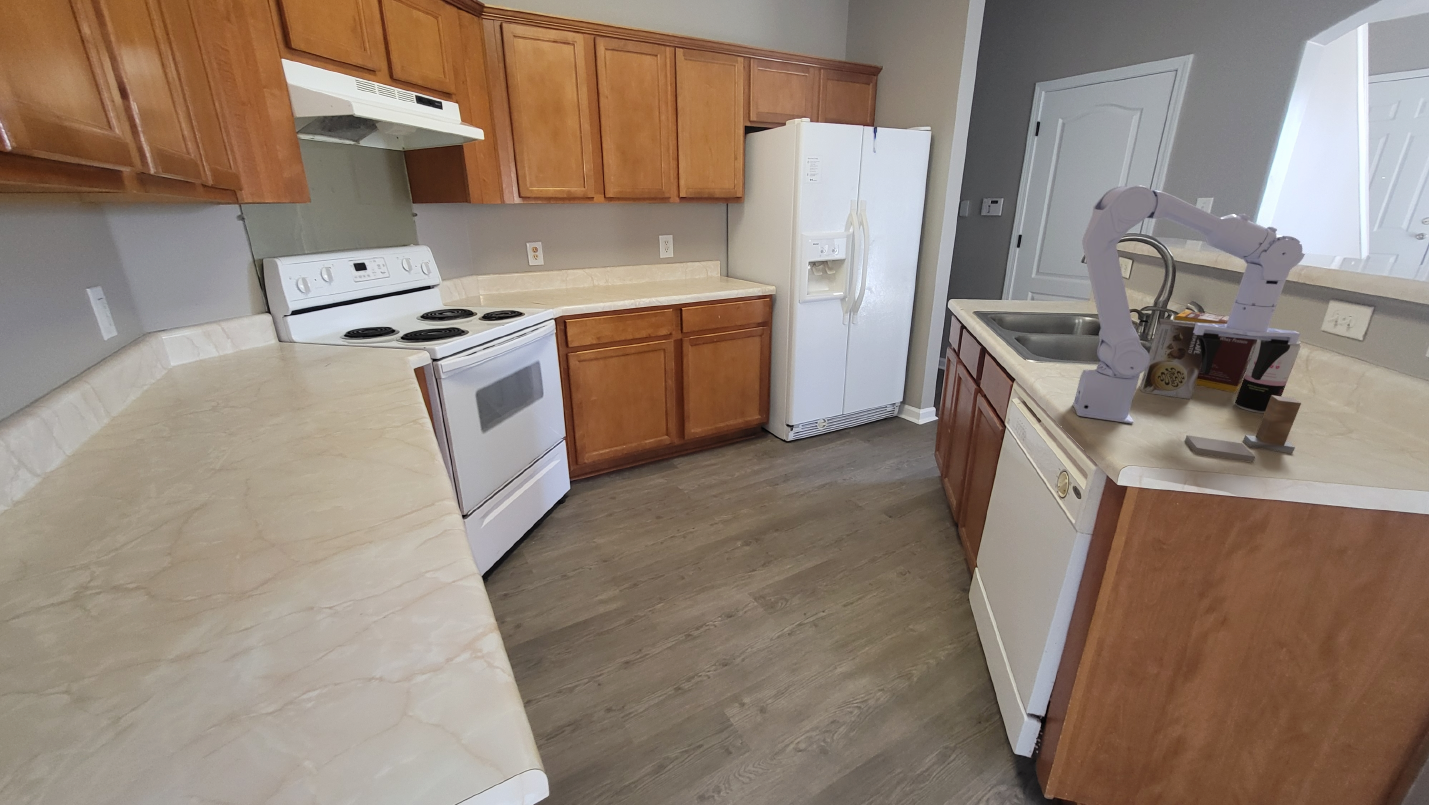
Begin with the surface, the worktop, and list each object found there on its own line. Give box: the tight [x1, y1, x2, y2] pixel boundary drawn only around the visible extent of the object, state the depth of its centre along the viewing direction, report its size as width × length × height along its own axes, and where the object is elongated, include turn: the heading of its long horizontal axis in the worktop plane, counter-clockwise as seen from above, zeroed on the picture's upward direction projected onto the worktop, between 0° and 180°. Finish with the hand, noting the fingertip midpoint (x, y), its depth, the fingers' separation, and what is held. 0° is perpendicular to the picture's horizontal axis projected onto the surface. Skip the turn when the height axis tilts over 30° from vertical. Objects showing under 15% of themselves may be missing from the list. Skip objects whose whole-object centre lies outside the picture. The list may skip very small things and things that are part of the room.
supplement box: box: [1173, 310, 1257, 393], centre depth 137 cm, size 10×15×16 cm
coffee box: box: [1139, 318, 1202, 400], centre depth 128 cm, size 9×6×16 cm
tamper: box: [1242, 395, 1302, 454], centre depth 101 cm, size 6×3×9 cm, turn 66°
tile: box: [1184, 434, 1256, 463], centre depth 100 cm, size 8×2×6 cm
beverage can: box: [1234, 340, 1302, 414], centre depth 119 cm, size 6×6×15 cm
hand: (1229, 375), depth 108 cm, fingers open, 7 cm apart
